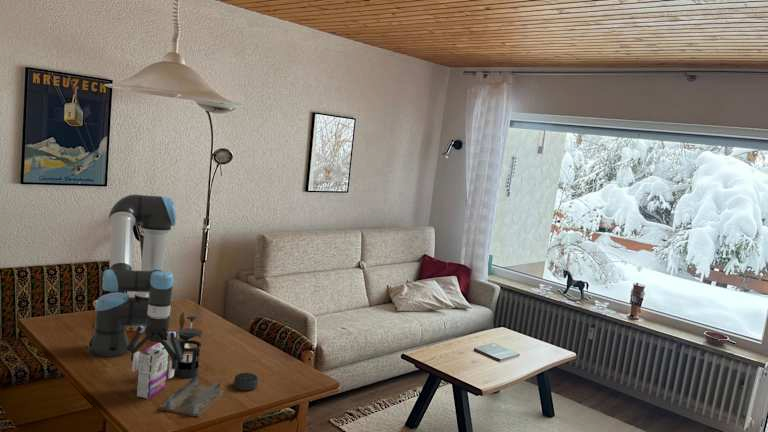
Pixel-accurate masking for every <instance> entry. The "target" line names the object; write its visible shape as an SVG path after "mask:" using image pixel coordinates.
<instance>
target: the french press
mask: <svg viewBox="0 0 768 432" xmlns="http://www.w3.org/2000/svg"><path fill="white" fill-rule="evenodd" d="M186 320H190V327H189V328H188V327H187V328H184V329H181V330H180V329H178V330H177V334H179V338H180V339H181V340H178V342H179V344H180V347H181V350H182V353H183V356H184V357H183V358H181V359H180V360H178V362H177V368H176V369H174V376H173V377H176V378H179V379H186V380H187V379H193V378H197V376H199V373H200V372H199V370H200V368H199V367H200V365H199V359H200V353H201V352H200V351H201V349H202V343H201V342H200V341H197V340H194V339H193V340H192V338H196V337H199V338H200V339H201V338H202V335H203V334H204V333H203V330H201V329H197V328H193V327H192V326H193V322H194V321H195V320H198V317H197V316H195V315H187V316H186ZM187 343H188V345H189V346H190V348H189V347H188V348H185V344H187ZM191 344H192V345H196V347H192V348H191ZM185 352H187V353H185ZM191 353H192V354H191Z"/></svg>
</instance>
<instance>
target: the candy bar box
mask: <svg viewBox="0 0 768 432" xmlns="http://www.w3.org/2000/svg"><path fill="white" fill-rule="evenodd" d="M139 352H140V355H139V366H138V373H137V374H138V375H137V386H136V397H138V398H140V399H141V398H142V399H147V400H149V399H151V398H152V397H154V396H155V395H156V394H159V392H161V391H162V390H164V389H165V388H167V379H168V368H169V357H170V355H169V354H168V352H167V351H166V349H165V348H164V346H163V345H162V344H161V343H160V342H159V343H157V342H156V343H155V344H153V345H151V346H150V347H147V348H145V349H144V350H141V351H139Z"/></svg>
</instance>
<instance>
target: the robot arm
mask: <svg viewBox="0 0 768 432" xmlns="http://www.w3.org/2000/svg"><path fill="white" fill-rule="evenodd" d="M174 201H175V200H174V199H173V198H171V197H166V196H159V195H144V194H143V195H141V194H129V195H126V196H124V197H122V198H121V199H119V200H118V201H117V202H116V203H115V204H114V205H113V206H112V208H111V210H110V211H109V215H108V224H109V226H110V229H111V230H110V248H109V249H110V251H109V269H105V270H103V273H102V274H103V275H102V276H103V277H102V290H103V291H105V292H112V293H107V294H103V295H101V296H100V297H98V299H97V300H96V302H97V303H96V307H95V321H94V331H93V334H92V336H91V338H90V340H89V343H88V345H87V346H88V347H87V352H88V353H89V354H90V355H93V356H95V357H100V358H101V357H103V358H104V357H105V358H110V357H118V356H123V355H125V354H127V353H128V352H130V353H131V354H130V355H131V356H130V361H131V362H132V365H131V371H132V372H133V373H134V372H136V371H137V370H138V371H139V359H140V352H141V351H139V350H140V349H141V348H142V347H143V346H144V345H145V344H147V342H148V341H150V342H154V343H156V344H157V343H161V344H162V345H163V346H164V348H165V349H166V351H167V352H168V354H169V357H170V358H171V359H169V362H168V372H167V379H171V378H173V377H175V376H174V369H176V368H177V362H178V360H180V359H181V358H183V357H184V356H183V353H182V350H181V347H180V344H179V342H178V339H177V335H178V331H176V330H174V331H170V330H169V327H170V315H171V305H172V296H173V286H174V282H175V281H174V274H173V273H172V272H170V271H167V270H165V271H164V266H165V265H164V264H165V253H166V243H167V234H168V233H169V232H170V231H171V230H172V227H174V226H175V225H176V217H177V216H176V214H177V213H176V204H175V202H174ZM136 224H140V229H141V230H142V231H143V234H144V235H143V242H142V243H143V245H142V255H141V267H140V270H133V239H134V238H133V237H134V236H133V235H134V234H133V233H134V232H133V229H134V226H135V225H136ZM126 292H134V297H133V296H132V297H130V294H128V293H126ZM127 327H136V331H135V334H134V336H133V337H132V339H131V340H130V341H129V339H128V336H127V332H126V331H127ZM143 333H145V334H146V336H145V337H143V339H142V340H140V341H139V339H140V338H141V337H142V334H143ZM138 342H139V343H138ZM172 346H173V347H172Z"/></svg>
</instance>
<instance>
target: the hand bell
mask: <svg viewBox="0 0 768 432" xmlns="http://www.w3.org/2000/svg"><path fill="white" fill-rule="evenodd" d="M186 317H187V316H186V312H185V311H181V314H180V316H179V321H178V322H179V330H181V329H185V324H186V321H187V318H186ZM177 339H178V340H181V339H180V338H179V333H177ZM172 347H173V346H172ZM188 347H189V348H191V345H190V346H189V343H187V344H185V348H188Z"/></svg>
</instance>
